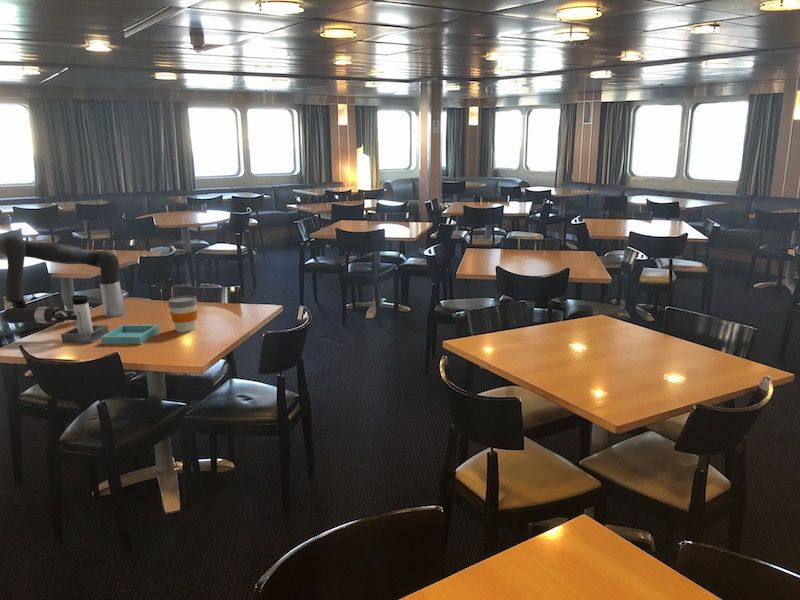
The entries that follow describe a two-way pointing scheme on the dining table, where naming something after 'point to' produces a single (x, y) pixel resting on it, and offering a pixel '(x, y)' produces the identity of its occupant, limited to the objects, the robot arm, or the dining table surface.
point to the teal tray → (130, 334)
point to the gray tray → (84, 335)
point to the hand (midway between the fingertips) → (82, 315)
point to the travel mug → (82, 314)
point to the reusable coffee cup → (183, 312)
